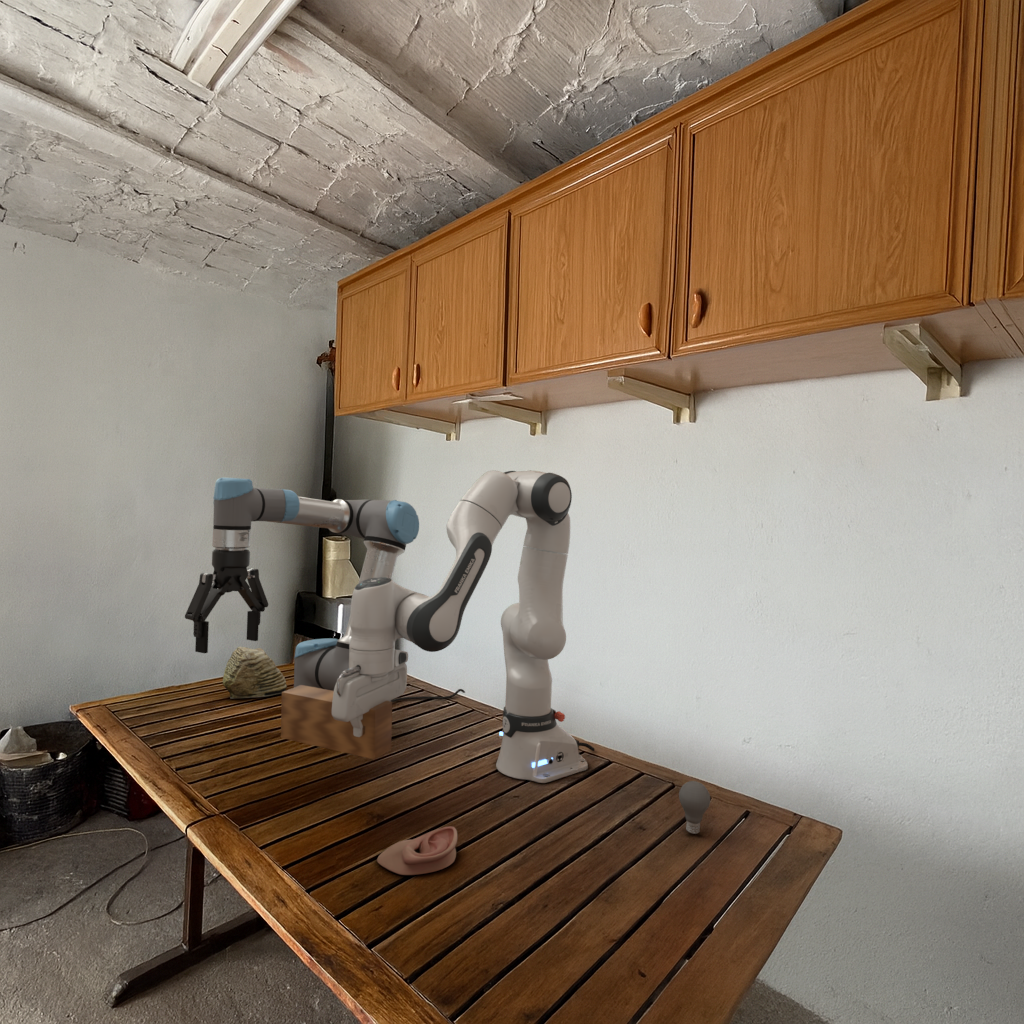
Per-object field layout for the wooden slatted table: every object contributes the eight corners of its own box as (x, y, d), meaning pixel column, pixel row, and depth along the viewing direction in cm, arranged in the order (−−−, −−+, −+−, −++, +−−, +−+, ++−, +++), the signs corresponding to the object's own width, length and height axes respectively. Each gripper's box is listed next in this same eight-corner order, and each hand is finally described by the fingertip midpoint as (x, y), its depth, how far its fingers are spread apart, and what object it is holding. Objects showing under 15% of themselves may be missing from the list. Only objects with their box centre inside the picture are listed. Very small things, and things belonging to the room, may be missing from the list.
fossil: (218, 695, 195) (220, 647, 195) (278, 685, 208) (279, 640, 207) (228, 703, 189) (230, 653, 188) (289, 692, 201) (290, 645, 201)
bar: (280, 737, 131) (281, 692, 131) (300, 728, 137) (301, 684, 136) (374, 759, 122) (375, 710, 122) (391, 749, 127) (392, 701, 127)
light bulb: (673, 824, 128) (675, 775, 128) (701, 824, 129) (704, 775, 129) (683, 840, 122) (685, 789, 122) (713, 840, 123) (716, 789, 123)
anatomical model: (370, 846, 108) (395, 814, 119) (369, 869, 108) (395, 835, 119) (444, 859, 105) (463, 825, 117) (443, 882, 106) (462, 846, 117)
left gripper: (194, 553, 125) (190, 660, 125) (286, 547, 148) (283, 637, 148) (167, 550, 128) (164, 655, 128) (262, 544, 151) (258, 633, 151)
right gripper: (352, 675, 115) (350, 751, 115) (412, 651, 133) (411, 716, 134) (324, 670, 117) (322, 744, 117) (387, 647, 136) (386, 711, 136)
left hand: (227, 646), depth 138 cm, fingers open, 13 cm apart
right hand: (370, 729), depth 126 cm, fingers closed on bar, 6 cm apart
